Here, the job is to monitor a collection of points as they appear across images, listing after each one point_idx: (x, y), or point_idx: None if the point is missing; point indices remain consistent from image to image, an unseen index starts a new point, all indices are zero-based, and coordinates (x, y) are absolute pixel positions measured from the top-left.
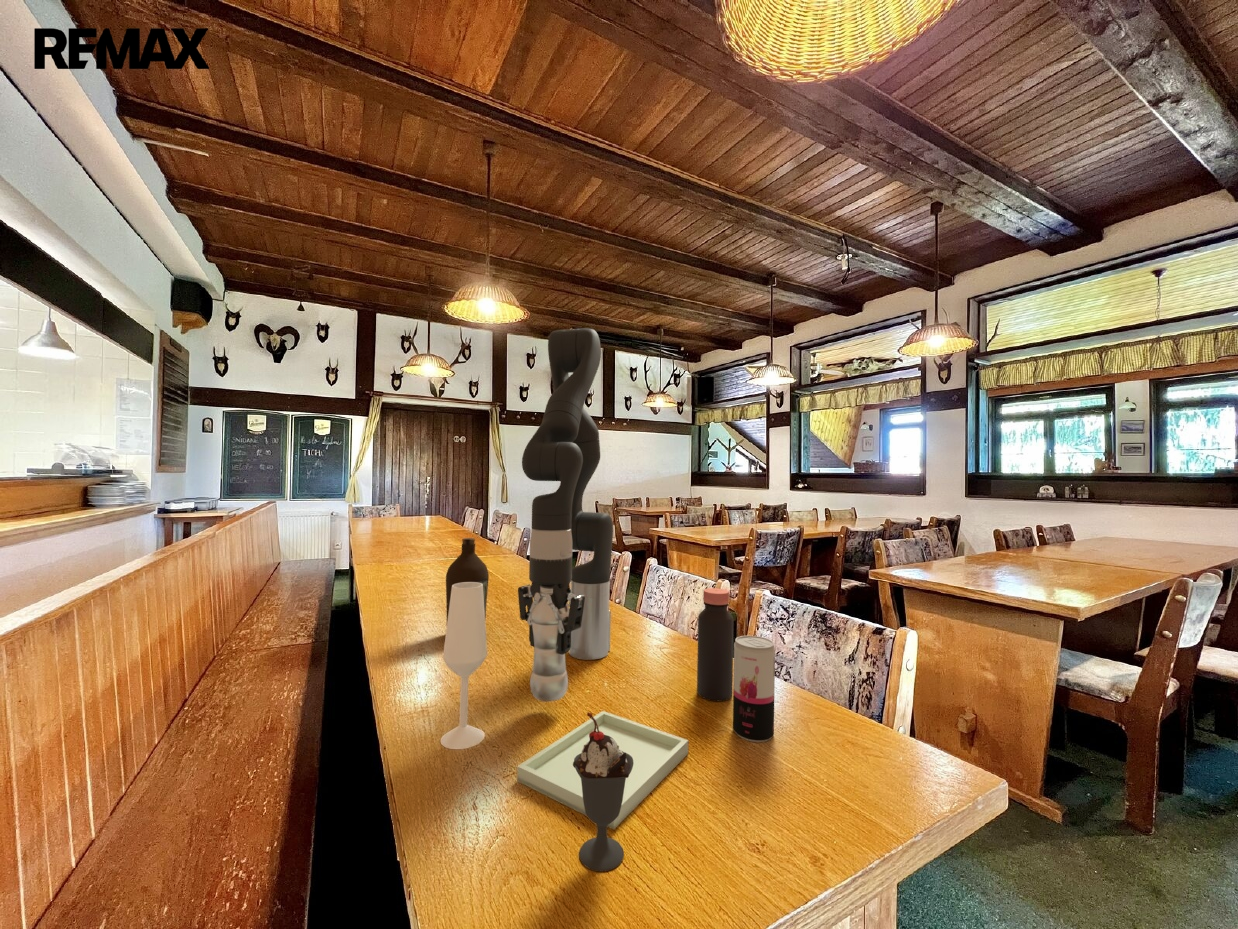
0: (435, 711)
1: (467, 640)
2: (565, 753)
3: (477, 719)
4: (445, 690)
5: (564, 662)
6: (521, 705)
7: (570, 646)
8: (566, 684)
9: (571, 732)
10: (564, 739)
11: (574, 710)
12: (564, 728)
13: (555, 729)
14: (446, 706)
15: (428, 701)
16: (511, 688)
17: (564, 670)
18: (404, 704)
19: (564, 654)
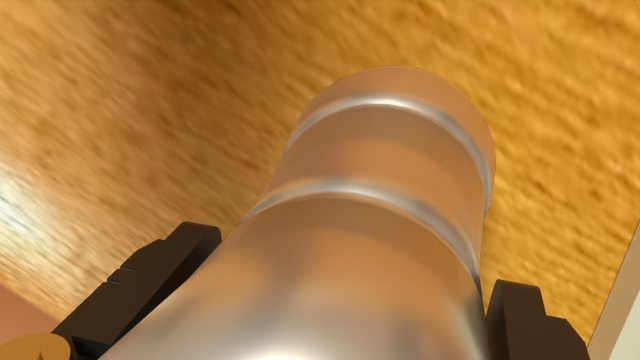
0: (114, 265)
1: None
2: (637, 351)
3: None
4: (9, 155)
5: (480, 216)
6: (275, 121)
7: (584, 352)
8: (494, 157)
9: (636, 312)
10: (629, 356)
11: (499, 44)
12: (535, 195)
13: (505, 214)
14: (107, 232)
15: (48, 230)
16: (133, 17)
17: (482, 195)
18: (29, 265)
19: (471, 233)
